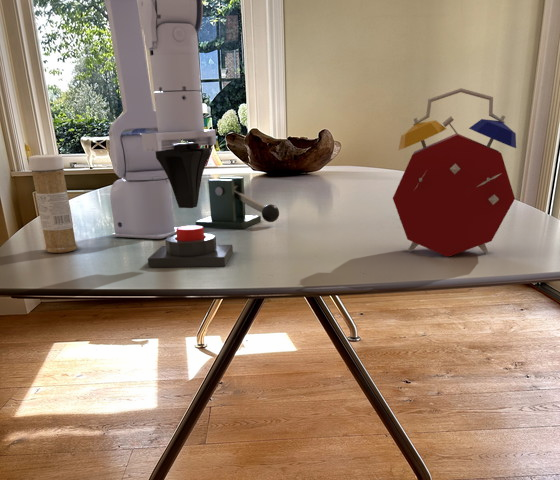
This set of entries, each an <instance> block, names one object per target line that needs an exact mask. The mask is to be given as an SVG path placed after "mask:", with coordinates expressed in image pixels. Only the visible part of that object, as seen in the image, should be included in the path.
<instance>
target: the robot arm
mask: <svg viewBox="0 0 560 480" xmlns="http://www.w3.org/2000/svg"><path fill="white" fill-rule="evenodd" d="M103 2H104V5H105V9H106V12H107V19H108V25H109V31H110V38H111V43H112V50H113V55H114V62H115V69H116V74H117V80H118V81H117V82H118V87H119V93H120V99H121V105H122V113H121V114H120V115H119V116H118V117H117V118H116V119H115V120H114V121H112V123H110V126H109V130H108V138H109V155H110V162H111V167H112V169H113V172H114V174H115V175H116V176H117V177H118V178H119V179H117V180H115V181H114V182H113V183H112V185H111V188H110V194H109V199H110V205H111V207H110V208H111V215H112V221H113V226H114V227H113V229H114V233H112V234H111V237H113V238H131V239H133V238H134V239H152V240H162V239H166V238H168V237H170V236H174V235H177V234H176V228H177V227H178V226H177V227H176V225H175V215H174V207H173V206H174V205H173V196H172V195H174V198H175V200H176V204H177V206H178V209H179V208H180V209H194V208H197V207H198V204H199V197H200V190H201V184H202V179H203V175H204V171H205V168H206V165H207V164H208V160H209V158H210V156H211V149H210V147H203V146H216V145H217V135H216V134H217V133H216V129H205V123H204V121H205V120H204V110H203V97H202V96H203V95H202V83H201V70H200V58H199V57H200V56H199V41H198V33H200V31H201V27H202V23H203V16H204V15H203V14H204V7H203V5H204V3H203V0H103ZM145 48H146V49H145ZM146 50H148V51H149V56H150V57H149V58H150V66H151V67H150V68H151V78H152V86H153V87H152V88H153V95H152V89H151V81H150V75H149V69H148V62H147V55H146ZM153 97H154V98H153ZM153 99H154V102H153ZM154 104H155V105H154ZM154 107H155V109H154ZM182 141H183V142H182ZM201 146H202V147H201ZM172 191H173V192H172ZM172 193H173V194H172Z"/></svg>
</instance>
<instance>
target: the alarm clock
mask: <svg viewBox="0 0 560 480" xmlns="http://www.w3.org/2000/svg"><path fill="white" fill-rule="evenodd" d="M459 93H462V94H465V95H469V96H473V97H476V98H480V99H484V100H487V101H488V116H489V117H491V118H493V119H495V120H493V119H485V118H481V119H480V120H478V121H477V122H475V123H474V124H473V125H471V126H470V127H468V129H469V130H471V131H473V132H476V133H478V134H480V135H483V136H485V137H487V138H490V139H489V140H488V142H487V144H484V143H481V142H479V141H476V140H475V139H472V138H469V137H467V136H465V135H462V134H459V133H458V132H457V130H456V129H455V128H454V126H453V125H452V124H451V123H452V122H453V121H454V118H453V116H451V115H450V116H449V117H448V118H446V120H444V121H443V122H442V123H440V122H439V121H438V120H436V119H434V120H428V121H425V120H427V119H429V118H430V117H431V108H432V103H433V102H436V101H439V100H442V99H445V98H448V97H451V96H454V95H457V94H459ZM493 109H494V96H491V95H487V94H484V93H480V92H476V91H473V90H469V89H466V88H462V87H461V88H457V89H454V90H452V91H449V92H445V93H443V94H440V95H437V96H434V97H431V98H428V99H427V106H426V112H425V115H423V117H421V118H420V119H419V120H418V117H415V118H413V122H414V123H413V124H412V127H410V128H409V129H407V130H406V131H405V132H404V133H403V134H401V136H400V141H399V145H398V149H397V150H398V151H401V150H403V149H406V148H408V147H411V146H413V145H415V144H418V143H420V142H421V146H422V147H421V148H420V149H417V150H414V151H413V152H412V154H411V157H410V158H409V161H408V163H407V166H406V168H405V170H404V172H403V174H402V176H401V179H400V180H399V183H398V185H397V188H396V190H395V191H394V194H393V196H392V200H393V201H392V202H393V203H394V206H395V209H396V211H397V215H398V217H399V220H400V223H401V225H402V228H403V232H404V234H405V236H406V239H407V240H408V241H409V242H411V243H410V245H409V246H408V249H407V250H408V252H409V253H410V252H413V251H414V250H415V249H416V248H417V247H418V246H421V247H424V248H426V249H427V250H430V251H432V252H435V253H437V254H440V255H441V256H444V257H446V258H449V257H451V256H455V255H457V254H459V253H463V252H465V251H468V250H471V249H474V248H477V247H478V248H479V249H480V250H481V251H482V253H483V254H488V252H489V250H488V248H487V245H486V244H487V243H491V242H492V241H493V240H494V238H495V236H496V234H497V232H498V231H499V228H500V226H502V223H503V221H504V219H505V218H506V216H507V214H508V212H509V211H510V209H511V207H512V205H513V203H514V201H515V200H516V197H515V194H514V191H513V188H512V184H511V181H510V178H509V174H508V170H507V168H506V165H505V161H504V157H503V154H502V152H500V151H499V150H497V149H495V148H494V147H491V146H492V144H493V142H494V141H496V142H499V143H502V144H503V145H506V146H509V147H510V148H514V149H517V133H516V132H515V131H513V129H511V128H510V127H509V126H508V125H506V121H504V120H505V119H506V116H505V115H501V116H500V117H499V116H497V115H496V114H494V111H493ZM448 126H450V128H451V129H452V130H453V132H454V134H452V135H449V136H447V137H445V138H443V139H439V140H438V141H436V142H433V143H431V144H429V145H427V144H426V141H425V140H427V139H429V138H431V137H433V136H436V135H438V134H440V133H443V132H444V131H446V130H447V127H448Z"/></svg>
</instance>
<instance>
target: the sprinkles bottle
mask: <svg viewBox="0 0 560 480" xmlns="http://www.w3.org/2000/svg"><path fill="white" fill-rule="evenodd" d="M27 158H28V159H27V160H28V166H29V170H30V171H31V174H32V175H31V176H32V180H33V184H34V189H35V198H36V202H37V208H38V214H39V219H40V224H41V229H42V232H43V238H44V243H45V251H46V252H48V253H51V254H62V253H69V252H73V251H75V250H77V249H78V245H77V243H76V242H77V241H76V236H75V231H74V230H75V229H74V221H73V215H72V211H71V205H70V199H69V193H68V189H67V183H66V178H65V164H64V158H63V156H62V155H61V154H57V153H56V154H54V153H50V154H48V153H47V154H36V155H35V154H34V155H30V156H28V157H27Z"/></svg>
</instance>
